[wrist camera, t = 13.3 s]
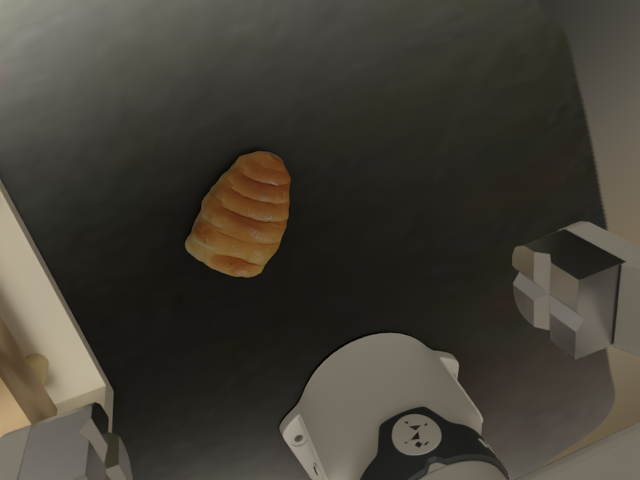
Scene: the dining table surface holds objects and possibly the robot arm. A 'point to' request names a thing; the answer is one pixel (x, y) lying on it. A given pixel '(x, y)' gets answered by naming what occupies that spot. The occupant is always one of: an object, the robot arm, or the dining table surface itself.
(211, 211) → the pastry
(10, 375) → the shelf board
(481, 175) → the dining table surface
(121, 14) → the dining table surface
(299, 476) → the dining table surface
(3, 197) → the peg frame
